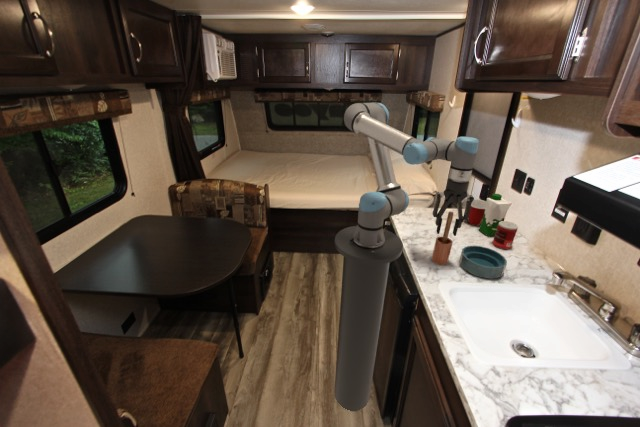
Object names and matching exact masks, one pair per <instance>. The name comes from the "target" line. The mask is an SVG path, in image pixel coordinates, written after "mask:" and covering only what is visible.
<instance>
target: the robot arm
mask: <svg viewBox="0 0 640 427" xmlns="http://www.w3.org/2000/svg"><path fill="white" fill-rule="evenodd" d="M389 120H390V113H389V110H388V108H387V107H386V106H385V104H383V103H381V102H374V101H372V102H356V103H353V104H350V105H349V106H348V107H347V108H346V110H345V111H344V114H343V122H344V125H345V126H346V128H347V129H348V130H349V131H351V132H353V133H354V134H356V135H362V136H363V137H365V138H366V142H367V145H368V149H369V153H370V154H369V155H370V158H371V162H372V167H373V168H374V169H373V170H374V175H375V178H376V182H377V183H376V184H377V189H376V190H375V191H368V192H365V193H363V194H362V195H361V196H360V198H359V202H358V212H357V224H356V226H357V227H356V230H355V232H354V234H353V238H352V239H351V240H350V242H352V241H353V243H354V244H355V245H357V246H359V247H361V248H364V249H378V248H381V247H383V246H384V244H385V237H384V232H385V230H386V229H385V228H384V220H385V219H389V218H392V217H394V216H397V215H400V214H402V213H404V212H405V211H406V210H407V208H408V207H409V204H410V197H409V195H408V193H407V192H406V190H404V189H403V188H402V186H401V184H400V183H398V182H397V179H396V175H395V170H394V167H393V162H392V159H391V153H390V150H391V151H393V152H395V153H397V154H399V155H401V156H402V157H403V160H404V161H405V162H406V164H409V165H411V166H412V165H420V164H424V163H428V162H432V161H437V160H442V161H446V162H450V168H449V172H448V176H447V177H448V178H447V181H446V185H445V189H444V190H443V191H441V192H439V191H437V192H436V193H435V195H436V199H435V203H434V206H433V210H432V217H433V218H436V219H435V226H436V229H435V231H436V234H437V235H440V232H441V228H442V224H443V215H444V214H445V212H446V210H447V209H448V207H449V206H450V205H451V204H456V206H457V207H456V208H457V217H458V218H455V222H454V225H453V230H452V235H453V236H454V237H456V236H457V234H458V229H461V227H462V224H463V223H464V221H468V218H469V213H470V208H471V203H472V202H473V200H474V199H475V196H473V194H468V189H469V185H470V180H471V177H472V173H473V169H474V165H475V162H476V158H477V154H478V149H479V145H480V141H479V139H478V138H475V137H471V136H458V137H457V138H456V140H450V139H445V138H440V137H432V136H430V137H428V138H427V139H426V140H423V141H422V140H420V139H418V138H415V137H414V136H412V135H409V134H408V133H405V132H403V131H401V130H398V129H397V128H396V127H392V126H391V125H389V124H388V123H389ZM443 197H445V199H444V202H443V204H442V205H441V200H442V199H443ZM464 200H466V203H465V207H464V212H463V203H462V202H463V201H464ZM440 205H441V207H440ZM383 231H384V232H383Z"/></svg>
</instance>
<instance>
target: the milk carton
mask: <svg viewBox="0 0 640 427" xmlns="http://www.w3.org/2000/svg"><path fill="white" fill-rule="evenodd" d="M486 202H487V204H486V209H485V213H484V216H483V219H482V221H481V223H480V225H479V228H478V231H479V232H481V233H482V234H484V235H485V236H487V237H495V233H496V230H497V227H498V224H499V222H501V221H505V219H506V216H507V213H508V211H509V209H510V207H511V205H512V202H510V201H508V200H507V199H504V198H503V195H502V194H499V193H492V196H491V197H487V198H486Z"/></svg>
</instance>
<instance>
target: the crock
mask: <svg viewBox="0 0 640 427" xmlns="http://www.w3.org/2000/svg"><path fill="white" fill-rule="evenodd" d="M442 239H443V236H437V237H436V238H435V241H434V245H433V246H434V247H433V251H432V255H431V260H432V262H433V263H434V264H437V265H440V266H444V265H447V264H448V262H449V259H450V255H451V251H452V247H453V243H454V242H453V240H452V239H451V238H449V237H448V238H447V242H446V244H445V243H442Z"/></svg>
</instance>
